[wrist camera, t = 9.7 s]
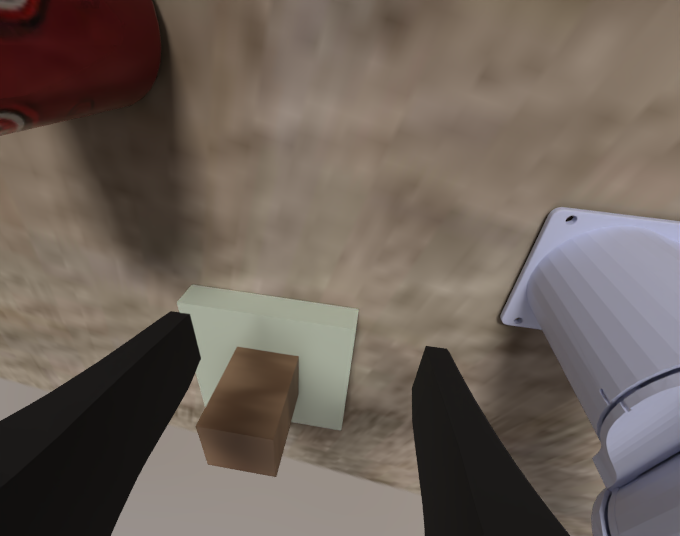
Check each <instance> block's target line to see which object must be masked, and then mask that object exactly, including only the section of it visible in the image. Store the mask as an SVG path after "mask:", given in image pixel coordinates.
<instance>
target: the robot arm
mask: <svg viewBox="0 0 680 536" xmlns="http://www.w3.org/2000/svg"><path fill="white" fill-rule="evenodd" d="M573 215H574V217H573V219H572V220H570V221H566V219H567V218H568V217H569V216H573ZM500 318H501V320H502V322H503V323H504V324H506V325H512V326H519V327H526V328H533V329H539V330H542V331H543V333H544V335H545V336H546V338H547V340H548V342H549V344H550V346H551V348H552V350H553V352H554V354H555V356H556V357H557V359H558V361H559V363H560V365H561V367H562V369H563V371H564V373H565V375H566V377H567V379H568V380H569V382H570V384H571V386H572V388H573V390H574V392H575V394H576V396H577V398H578V400H579V402H580V403H581V405H582V407H583V409H584V411H585V413H586V415H587V417H588V419H589V421H590V423H591V424H592V426H593V428H594V430H595V432H596V434H597V436H598V438H599V440H600V442H601V449H600V451H599V452H598V453H597V454H596V455H595V456H594V457H593V458H592V459H593V461H594V463H595V465H596V468H597V470H598V472H599V474H600V476H601V478H602V480H603V482H604V484H605V486H606V488H605V489H604V490H603V491H602V492H601V493H600V494H599V495H598V496H597V498H596V500H595V502H594V505H593V509H592V515H591V520H592V533H593V536H680V221H673V220H665V219H656V218H648V217H640V216H632V215H624V214H615V213H607V212H599V211H591V210H583V209H574V208H566V207H558V208H555V209H554V210H552V211H551V212H550V213H549V215H548V217H547V219H546V221H545V223H544V225H543V227H542V229H541V231H540V234H539V236H538V238H537V240H536V242H535V244H534V246H533V248H532V250H531V252H530V254H529V257H528V259H527V261H526V263H525V265H524V267H523V269H522V271H521V273H520V275H519V277H518V279H517V282H516V284H515V286H514V288H513V290H512V292H511V294H510V296H509V298H508V300H507V302H506V305H505V307H504V309H503V311H502V313H501V315H500ZM516 318H519V319H516ZM515 319H516V320H515ZM200 360H201V356H200V352H199V348H198V344H197V340H196V336H195V332H194V328H193V324H192V320H191V316H190V314H187V313H180V312H172V311H171V312H169V313H168V314H166V315H165V316H163V317H162V318H160V319H159V320H157V321H156V322H155V323H153V324H152V325H150V326H149V327H147V328H146V329H145V330H143V331H142V332H140V333H139V334H138V335H136V336H135V337H133V338H132V339H131V340H129V341H128V342H126V343H125V344H123V345H122V346H120V347H119V348H118V349H116V350H115V351H113V352H112V353H110V354H109V355H107V356H106V357H105V358H103V359H102V360H100V361H99V362H97V363H96V364H94V365H93V366H91V367H89V368H88V369H86V370H85V371H83V372H82V373H80V374H79V375H77V376H75V377H74V378H72V379H71V380H69V381H68V382H66V383H64V384H63V385H61V386H60V387H58V388H57V389H55V390H53V391H52V392H50V393H48V394H47V395H45V396H44V397H42V398H40V399H39V400H37V401H35V402H33V403H32V404H30V405H28V406H26V407H25V408H23V409H21V410H19V411H17V412H16V413H14V414H12V415H10V416H8V417H7V418H5V419H3V420H1V421H0V536H111V533H112V531H113V529H114V527H115V524H116V522H117V520H118V518H119V515H120V513H121V511H122V509H123V507H124V505H125V503H126V501H127V498H128V496H129V494H130V492H131V490H132V488H133V486H134V484H135V482H136V480H137V477H138V475H139V474H140V472H141V470H142V468H143V466H144V465H145V463H146V461H147V459H148V457H149V456H150V454H151V452H152V451H153V449H154V447H155V445H156V444H157V442H158V440H159V438H160V437H161V435H162V433H163V432H164V430H165V428H166V427H167V425H168V423H169V421H170V420H171V418H172V416H173V415H174V413H175V411H176V409H177V408H178V406H179V404H180V402H181V401H182V399H183V397H184V395H185V394H186V392H187V390H188V388H189V386H190V383H191V381H192V379H193V377H194V374H195V372H196V370H197V367H198V365H199V362H200ZM412 423H413V432H414V440H415V448H416V456H417V464H418V472H419V480H420V488H421V496H422V504H423V515H424V528H425V536H570V535H569V534H568V532H567V531H566V530H565V529H564V527H563V526H562V525H561V524H560V522H559V521H558V520H557V518H556V517H555V516H554V515H553V513H552V512H551V511H550V510H549V508H548V507H547V506H546V504H545V503H544V502H543V500H542V499H541V498H540V496H539V495H538V494H537V492H536V491H535V490H534V488H533V487H532V486H531V484H530V483H529V482H528V480H527V479H526V477H525V476H524V475H523V473H522V472H521V470H520V469H519V468H518V466H517V465H516V463H515V462H514V460H513V459H512V457H511V456H510V454H509V453H508V451H507V450H506V448H505V447H504V445H503V444H502V442H501V441H500V439H499V438H498V436H497V435H496V433H495V432H494V430H493V428H492V427H491V425H490V424H489V422H488V420H487V419H486V417H485V415H484V414H483V412H482V410H481V409H480V407H479V405H478V404H477V402H476V400H475V399H474V397H473V395H472V393H471V392H470V390H469V388H468V386H467V384H466V383H465V381H464V379H463V377H462V375H461V374H460V372H459V370H458V368H457V366H456V364H455V362H454V360H453V358H452V356H451V354H450V352H449V351H448V350H447V349H444V348H437V347H430V346H426V347H425V350H424V353H423V356H422V359H421V362H420V365H419V368H418V372H417V375H416V378H415V381H414V384H413V387H412Z"/></svg>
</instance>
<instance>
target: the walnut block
mask: <svg viewBox="0 0 680 536" xmlns="http://www.w3.org/2000/svg"><path fill="white" fill-rule="evenodd" d="M298 395H299V356H294V355H287V354H281V353H275V352H269V351H262V350H256V349H250V348H243V347H237V348H236V350H235V352H234V354H233V355H232V357H231V359H230V361H229V363H228V365H227V367H226V369H225V371H224V373H223V375H222V377H221V379H220V381H219V382H218V384H217V386H216V388H215V390H214V392H213V394H212V396H211V398H210V400H209V402H208V404H207V406H206V408H205V409H204V411H203V413H202V415H201V417H200V419H199V421H198V423H197V425H196V429H197V432H198V435H199V438H200V441H201V444H202V447H203V450H204V454H205V457H206V460H207V463H208V465H214V466H219V467H224V468H230V469H235V470H240V471H246V472H252V473H257V474H263V475H268V476H274V477H276V475H277V472H278V468H279V465H280V461H281V457H282V454H283V450H284V446H285V443H286V439H287V435H288V432H289V428H290V424H291V420H292V417H293V413H294V409H295V406H296V402H297V398H298Z"/></svg>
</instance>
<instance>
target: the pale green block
mask: <svg viewBox="0 0 680 536" xmlns="http://www.w3.org/2000/svg"><path fill="white" fill-rule="evenodd" d="M177 305H178V309H179V312H180V313H187V314H190V316H191V320H192V324H193V328H194V332H195V336H196V340H197V344H198V348H199V352H200V356H201V360H200V362H199V365H198V367H197V370H196V375H197V379H198V383H199V386H200V390H201V394H202V397H203V401H204V405H205V407H206V406H207V404H208V402H209V400H210V398H211V396H212V394H213V392H214V390H215V388H216V386H217V384H218V382H219V381H220V379H221V377H222V375H223V373H224V371H225V369H226V367H227V365H228V363H229V361H230V359H231V357H232V355H233V354H234V352H235V350H236V348H237V347H243V348H250V349H256V350H262V351H269V352H275V353H281V354H287V355H294V356H299V395H298V398H297V402H296V406H295V409H294V413H293V417H292V420H291V422H294V423H300V424H306V425H311V426H317V427H323V428H329V429H334V430H340V431H341V429H342V422H343V415H344V409H345V402H346V395H347V388H348V381H349V374H350V367H351V361H352V354H353V347H354V340H355V333H356V326H357V318H358V311H359V309H355V308H348V307H341V306H335V305H328V304H321V303H314V302H308V301H301V300H294V299H287V298H281V297H274V296H267V295H260V294H253V293H247V292H240V291H233V290H226V289H220V288H213V287H206V286H199V285H193V284H192V285H191V286H190V287H189V288H188V290H187V291H186V292H185V293H184V294H183V296H182V297H181V298H180V299H179V300H178V302H177Z"/></svg>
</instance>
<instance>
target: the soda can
mask: <svg viewBox="0 0 680 536" xmlns="http://www.w3.org/2000/svg"><path fill="white" fill-rule="evenodd" d="M160 62H161V37H160V28H159V23H158V19H157V16H156V12H155V8H154V5H153V2H152V0H0V136H2V135H6V134H11V133H15V132H20V131H24V130H28V129H33V128H37V127H41V126H46V125H50V124H54V123H59V122H63V121H67V120H72V119H76V118H81V117H85V116H89V115H94V114H98V113H102V112H107V111H111V110H115V109H120V108H123V107H127V106H131V105H133V104H134V103H136V102H137V101H139V100H141V99H142V98H143V97H144V96H145V95H146V94H147V93H148V92H149V91H150V89H151V87H152V85H153V83H154V82H155V80H156V78H157V74H158V70H159V66H160Z"/></svg>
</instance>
